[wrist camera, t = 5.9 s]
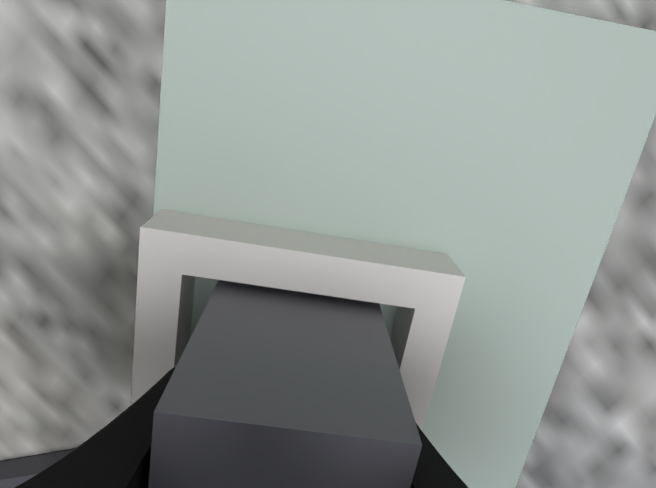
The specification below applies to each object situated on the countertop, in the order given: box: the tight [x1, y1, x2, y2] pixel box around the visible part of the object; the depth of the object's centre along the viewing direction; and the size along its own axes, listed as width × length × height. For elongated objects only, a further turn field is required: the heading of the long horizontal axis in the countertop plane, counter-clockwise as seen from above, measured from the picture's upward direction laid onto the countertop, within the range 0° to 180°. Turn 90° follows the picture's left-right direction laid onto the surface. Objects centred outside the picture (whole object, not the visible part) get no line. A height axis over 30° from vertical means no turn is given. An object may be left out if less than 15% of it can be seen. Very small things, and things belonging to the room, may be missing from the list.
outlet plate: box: [131, 0, 656, 488], centre depth 13 cm, size 16×12×3 cm
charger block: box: [148, 280, 422, 488], centre depth 10 cm, size 4×4×6 cm
